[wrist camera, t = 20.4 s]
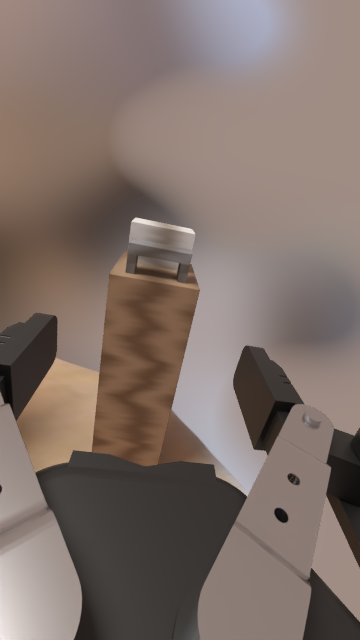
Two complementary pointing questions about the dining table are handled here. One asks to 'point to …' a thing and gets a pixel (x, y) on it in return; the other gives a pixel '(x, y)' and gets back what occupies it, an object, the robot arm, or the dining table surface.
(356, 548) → the robot arm
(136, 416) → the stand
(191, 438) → the dining table surface
